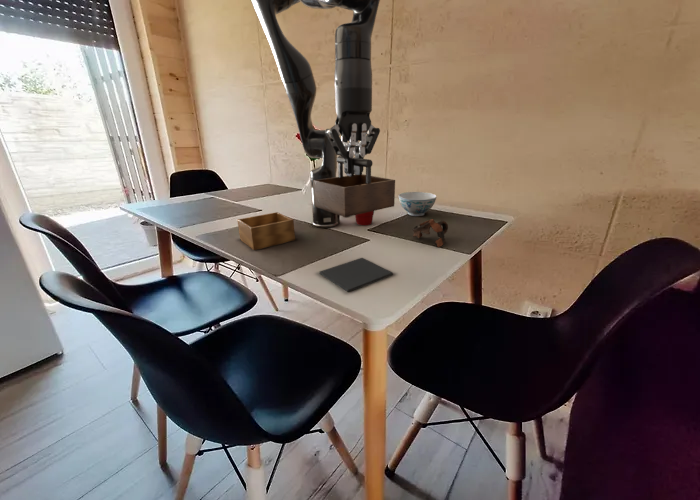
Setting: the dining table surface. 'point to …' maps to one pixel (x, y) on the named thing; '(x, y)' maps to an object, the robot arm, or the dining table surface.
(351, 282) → the mat
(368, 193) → the box
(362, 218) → the plastic cup
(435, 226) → the brown toy animal
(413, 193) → the chinaware
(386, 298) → the dining table surface
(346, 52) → the robot arm
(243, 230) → the box
